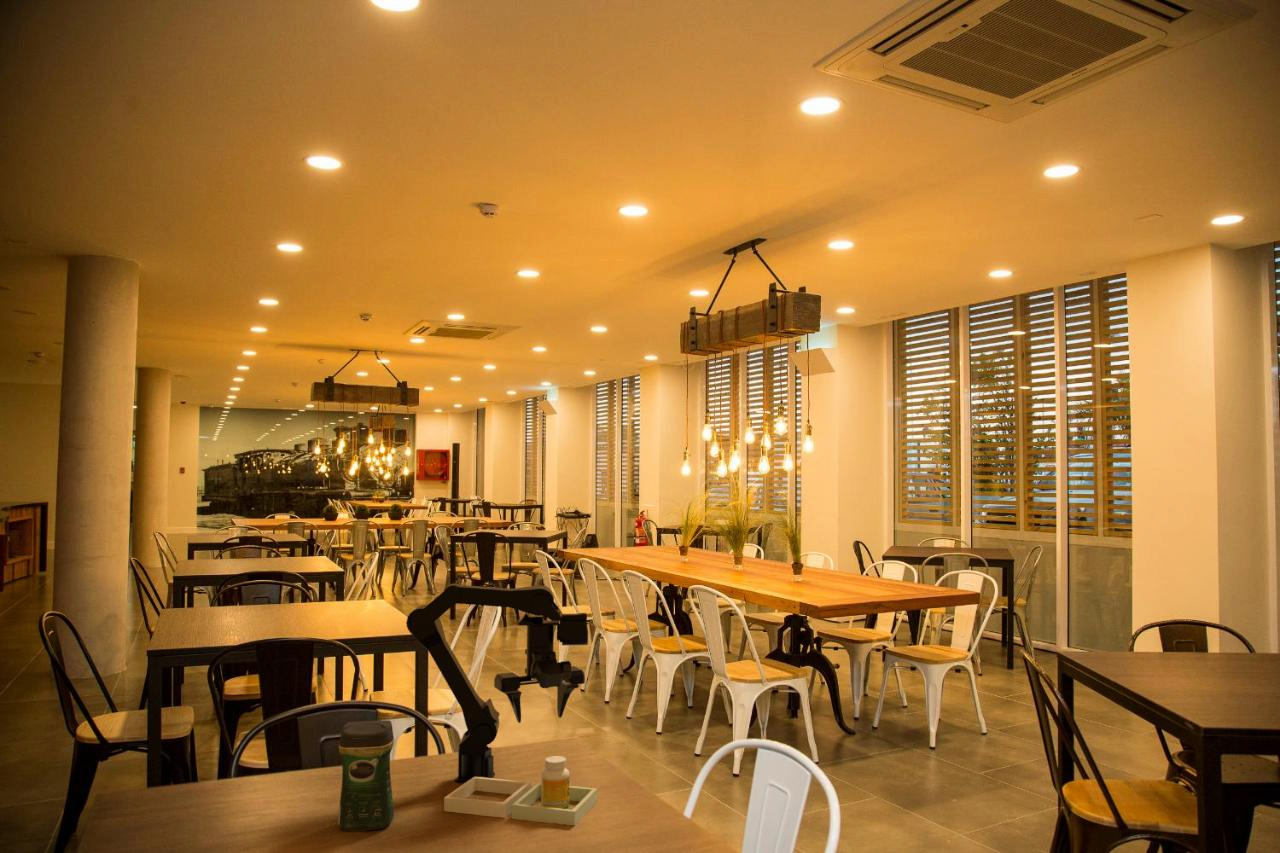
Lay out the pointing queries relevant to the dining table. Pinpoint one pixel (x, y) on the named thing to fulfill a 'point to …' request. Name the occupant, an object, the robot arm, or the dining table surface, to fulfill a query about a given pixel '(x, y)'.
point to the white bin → (482, 807)
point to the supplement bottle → (555, 783)
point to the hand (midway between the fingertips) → (539, 719)
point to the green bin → (554, 815)
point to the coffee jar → (366, 775)
